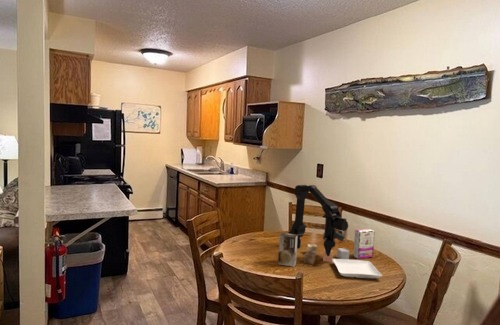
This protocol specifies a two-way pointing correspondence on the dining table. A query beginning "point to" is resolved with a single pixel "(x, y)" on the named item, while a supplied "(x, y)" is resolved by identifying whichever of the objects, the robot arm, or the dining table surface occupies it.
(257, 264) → the dining table surface
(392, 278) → the dining table surface
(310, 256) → the walnut block
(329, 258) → the terracotta block
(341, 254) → the light gray block
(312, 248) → the maple block
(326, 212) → the robot arm
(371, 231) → the candy bar box
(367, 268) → the salad plate
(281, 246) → the coffee box
